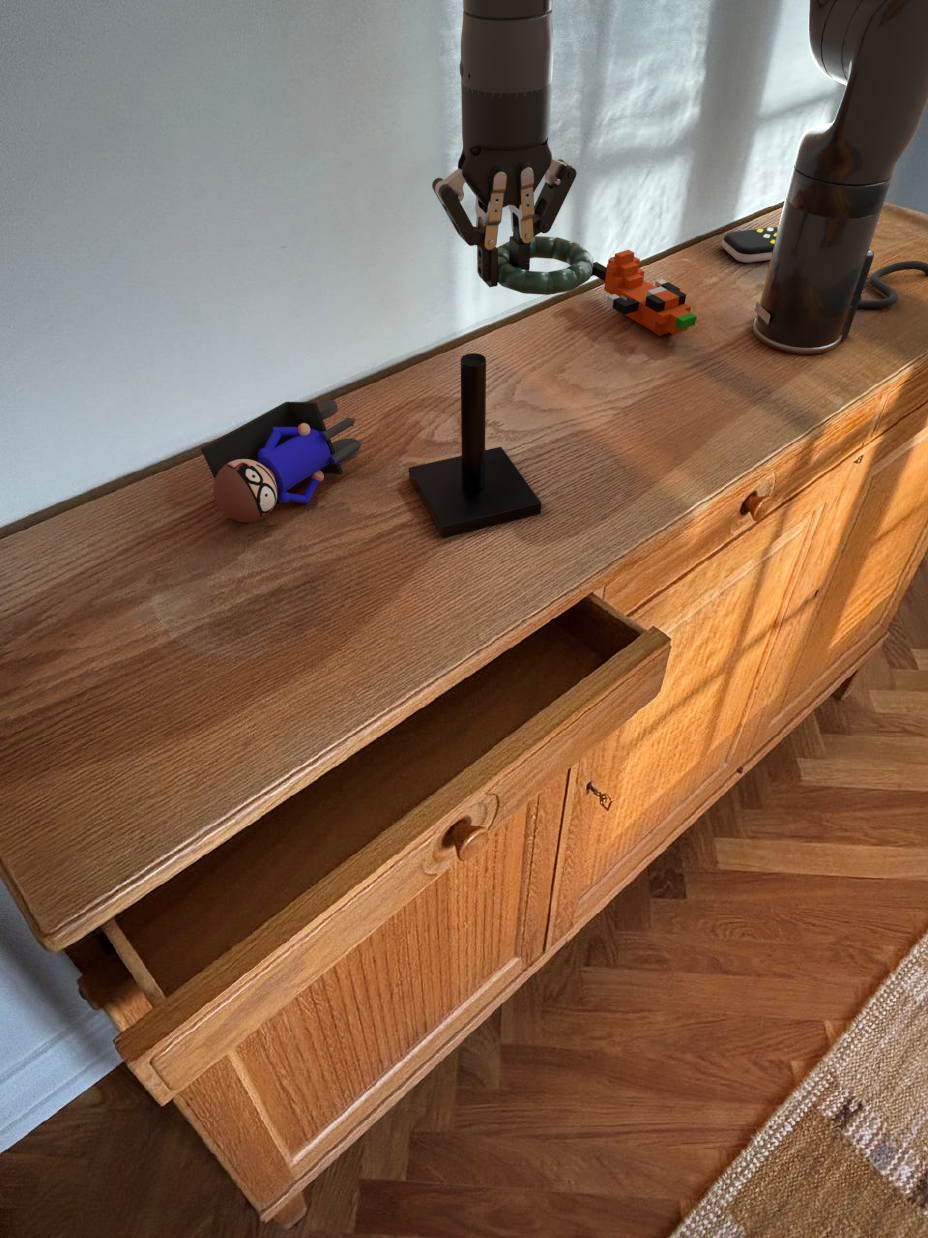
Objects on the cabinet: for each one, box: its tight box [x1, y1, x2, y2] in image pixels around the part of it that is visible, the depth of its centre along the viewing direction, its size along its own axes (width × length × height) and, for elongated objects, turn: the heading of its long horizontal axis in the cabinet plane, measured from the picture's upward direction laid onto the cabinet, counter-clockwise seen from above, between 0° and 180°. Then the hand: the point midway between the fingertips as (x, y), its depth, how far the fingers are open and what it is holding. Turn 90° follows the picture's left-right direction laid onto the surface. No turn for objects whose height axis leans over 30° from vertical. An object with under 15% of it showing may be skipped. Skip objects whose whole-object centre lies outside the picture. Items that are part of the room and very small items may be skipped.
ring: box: [496, 235, 594, 296], centre depth 84 cm, size 10×10×2 cm
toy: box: [591, 249, 697, 337], centre depth 98 cm, size 8×6×15 cm
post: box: [408, 352, 542, 539], centre depth 72 cm, size 9×9×13 cm
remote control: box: [721, 225, 779, 264], centre depth 112 cm, size 6×13×2 cm, turn 104°
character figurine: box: [200, 399, 364, 523], centre depth 74 cm, size 8×7×15 cm
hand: (503, 280), depth 84 cm, fingers closed on ring, 2 cm apart
